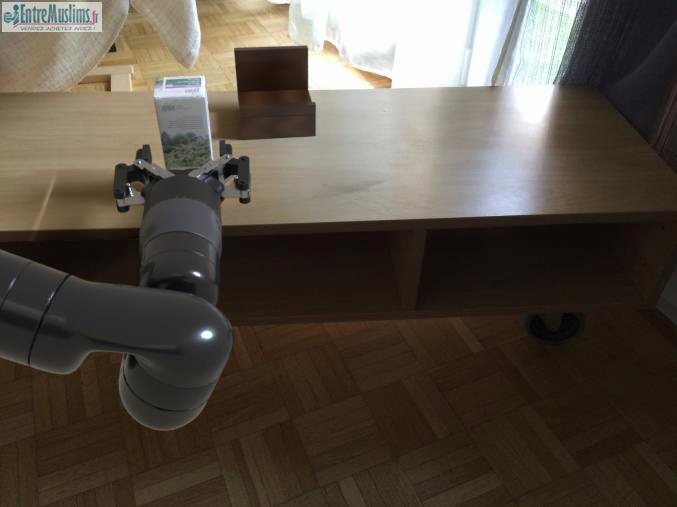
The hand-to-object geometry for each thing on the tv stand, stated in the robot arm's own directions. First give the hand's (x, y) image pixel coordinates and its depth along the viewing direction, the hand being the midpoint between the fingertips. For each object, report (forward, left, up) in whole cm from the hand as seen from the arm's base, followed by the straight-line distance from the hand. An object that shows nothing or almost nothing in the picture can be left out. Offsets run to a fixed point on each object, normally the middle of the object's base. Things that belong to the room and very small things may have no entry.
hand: (185, 149), depth 71 cm
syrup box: (0, +3, -8) cm, 9 cm away
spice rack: (+12, +21, -8) cm, 26 cm away
